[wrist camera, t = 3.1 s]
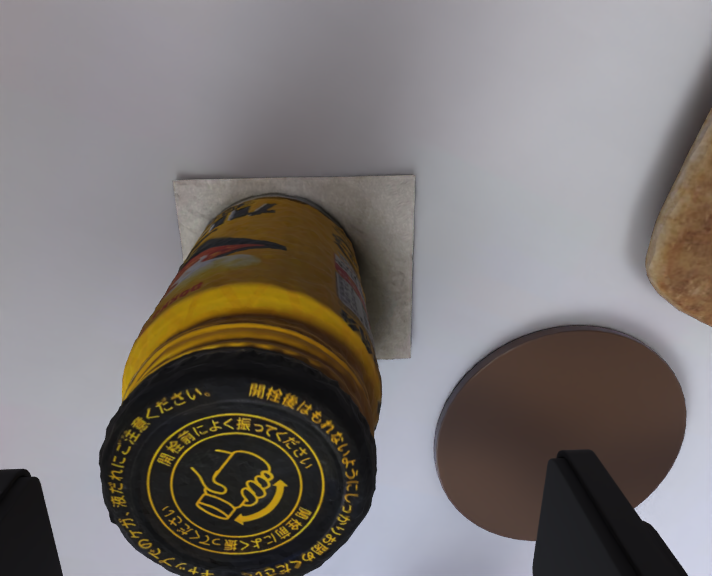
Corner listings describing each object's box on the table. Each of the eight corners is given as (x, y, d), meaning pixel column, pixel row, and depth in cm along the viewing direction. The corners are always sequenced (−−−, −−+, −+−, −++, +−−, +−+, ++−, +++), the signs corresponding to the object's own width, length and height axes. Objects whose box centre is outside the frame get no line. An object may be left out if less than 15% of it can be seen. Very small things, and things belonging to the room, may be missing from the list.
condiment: (173, 179, 20) (5, 333, 9) (414, 174, 21) (530, 313, 10) (197, 363, 23) (89, 652, 12) (409, 354, 24) (495, 624, 12)
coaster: (441, 328, 23) (443, 334, 23) (705, 321, 24) (713, 326, 23) (427, 539, 27) (429, 547, 27) (653, 527, 28) (659, 535, 28)
